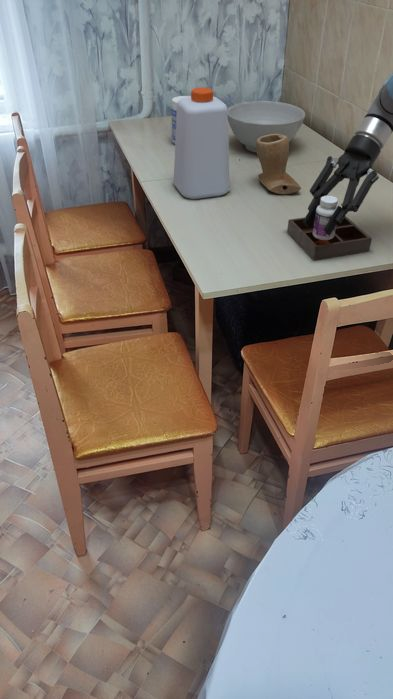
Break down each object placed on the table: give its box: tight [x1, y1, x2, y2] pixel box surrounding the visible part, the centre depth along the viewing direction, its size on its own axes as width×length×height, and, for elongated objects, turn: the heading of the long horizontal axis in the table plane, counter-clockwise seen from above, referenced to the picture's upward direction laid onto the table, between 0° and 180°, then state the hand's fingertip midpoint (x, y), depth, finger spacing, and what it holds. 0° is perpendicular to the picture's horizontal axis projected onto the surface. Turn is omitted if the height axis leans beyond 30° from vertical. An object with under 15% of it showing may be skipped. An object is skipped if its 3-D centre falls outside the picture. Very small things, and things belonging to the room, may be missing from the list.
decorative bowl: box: [227, 100, 306, 154], centre depth 189 cm, size 27×27×12 cm
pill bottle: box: [313, 195, 339, 240], centre depth 131 cm, size 5×5×10 cm
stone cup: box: [256, 134, 302, 195], centre depth 162 cm, size 15×12×15 cm
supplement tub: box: [171, 95, 191, 145], centre depth 192 cm, size 10×10×15 cm
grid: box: [286, 215, 372, 261], centre depth 139 cm, size 15×15×4 cm
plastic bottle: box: [173, 87, 231, 200], centre depth 156 cm, size 15×15×28 cm
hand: (316, 228), depth 130 cm, fingers closed on pill bottle, 5 cm apart
